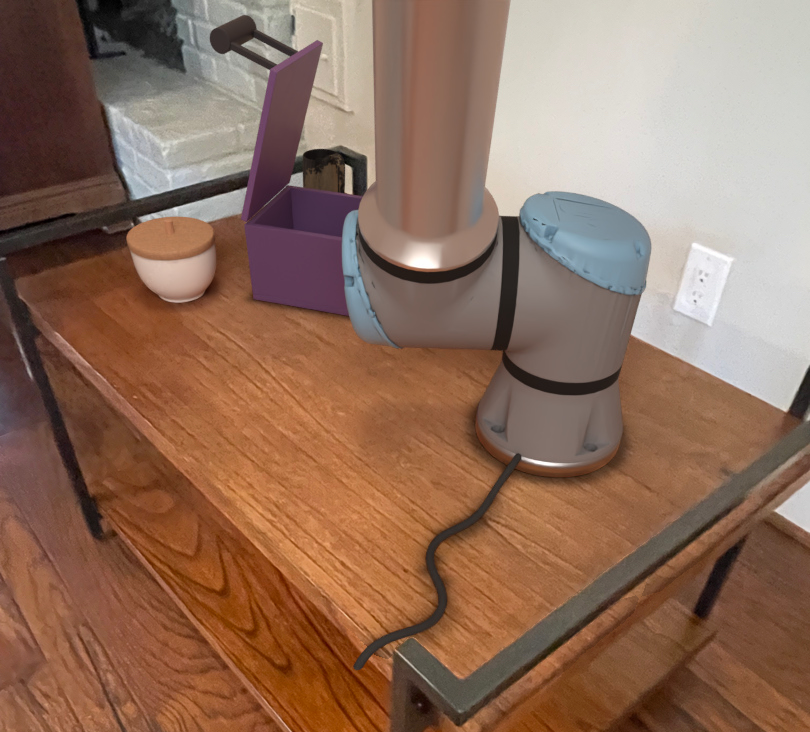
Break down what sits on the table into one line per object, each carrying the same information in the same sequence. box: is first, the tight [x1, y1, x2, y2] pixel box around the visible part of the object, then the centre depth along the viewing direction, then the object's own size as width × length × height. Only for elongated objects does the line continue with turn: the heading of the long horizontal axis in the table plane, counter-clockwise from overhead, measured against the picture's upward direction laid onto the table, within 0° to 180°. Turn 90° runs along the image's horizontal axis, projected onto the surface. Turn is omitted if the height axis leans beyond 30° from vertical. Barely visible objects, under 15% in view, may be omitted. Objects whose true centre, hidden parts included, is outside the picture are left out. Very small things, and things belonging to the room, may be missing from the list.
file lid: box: [209, 14, 324, 223], centre depth 89 cm, size 17×14×9 cm
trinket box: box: [126, 216, 218, 304], centre depth 96 cm, size 11×11×9 cm
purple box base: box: [243, 184, 363, 317], centre depth 98 cm, size 17×14×10 cm
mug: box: [302, 148, 346, 194], centre depth 109 cm, size 8×6×12 cm
